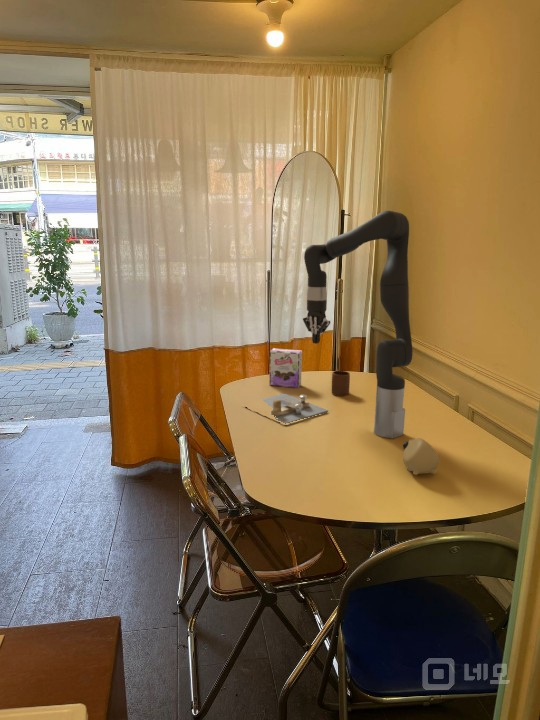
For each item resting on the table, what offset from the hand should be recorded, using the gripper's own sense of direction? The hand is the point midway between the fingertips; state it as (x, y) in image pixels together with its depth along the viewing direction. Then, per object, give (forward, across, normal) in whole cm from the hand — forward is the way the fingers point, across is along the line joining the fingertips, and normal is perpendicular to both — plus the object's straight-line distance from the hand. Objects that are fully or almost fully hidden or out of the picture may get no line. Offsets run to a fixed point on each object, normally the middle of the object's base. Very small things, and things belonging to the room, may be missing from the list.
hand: (315, 343), depth 195 cm
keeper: (+25, 0, +9) cm, 27 cm away
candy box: (+26, +29, -11) cm, 40 cm away
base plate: (+26, +6, +11) cm, 29 cm away
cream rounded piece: (+28, -58, +17) cm, 67 cm away
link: (+25, +1, +12) cm, 28 cm away
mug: (+26, +6, -22) cm, 34 cm away
